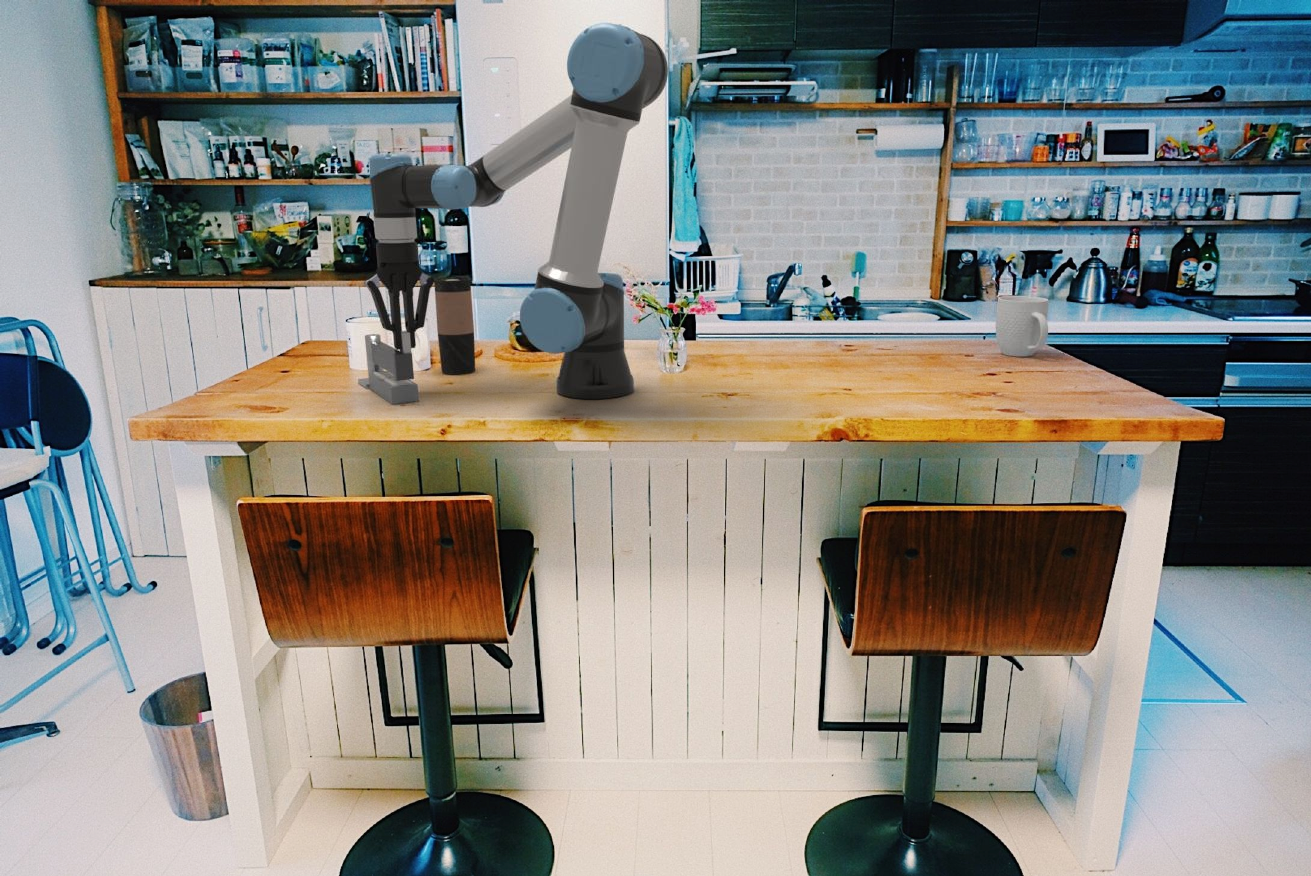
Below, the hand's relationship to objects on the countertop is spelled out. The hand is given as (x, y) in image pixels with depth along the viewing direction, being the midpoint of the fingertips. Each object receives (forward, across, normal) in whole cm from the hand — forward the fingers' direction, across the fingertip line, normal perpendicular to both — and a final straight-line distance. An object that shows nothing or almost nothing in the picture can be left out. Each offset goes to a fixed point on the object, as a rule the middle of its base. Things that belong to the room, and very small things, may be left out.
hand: (406, 365), depth 172 cm
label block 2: (+6, +3, +3) cm, 7 cm away
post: (+6, +3, -12) cm, 13 cm away
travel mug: (+6, -15, -14) cm, 22 cm away
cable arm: (+1, +3, -1) cm, 3 cm away
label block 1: (+6, +3, -4) cm, 7 cm away
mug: (+5, -132, +40) cm, 138 cm away
